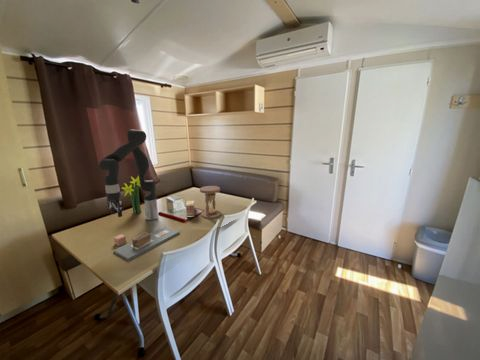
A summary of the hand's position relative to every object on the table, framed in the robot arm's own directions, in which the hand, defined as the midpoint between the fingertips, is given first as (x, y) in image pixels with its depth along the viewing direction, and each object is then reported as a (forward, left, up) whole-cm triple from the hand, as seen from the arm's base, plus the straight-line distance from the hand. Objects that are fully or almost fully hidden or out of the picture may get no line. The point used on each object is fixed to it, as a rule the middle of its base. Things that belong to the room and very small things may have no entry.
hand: (116, 215), depth 130 cm
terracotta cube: (0, 0, -20) cm, 20 cm away
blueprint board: (+15, +11, -20) cm, 27 cm away
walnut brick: (+15, +6, -18) cm, 24 cm away
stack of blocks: (+3, +61, -20) cm, 64 cm away
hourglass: (+21, +68, -20) cm, 74 cm away
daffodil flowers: (-39, +35, -20) cm, 56 cm away
